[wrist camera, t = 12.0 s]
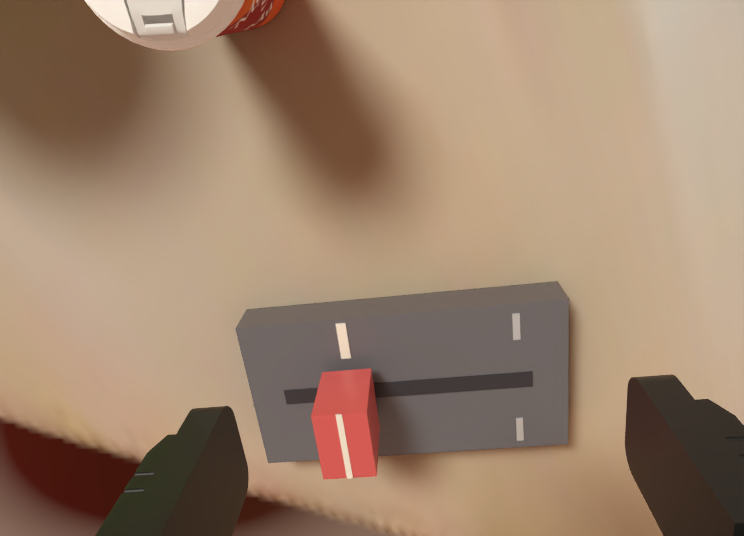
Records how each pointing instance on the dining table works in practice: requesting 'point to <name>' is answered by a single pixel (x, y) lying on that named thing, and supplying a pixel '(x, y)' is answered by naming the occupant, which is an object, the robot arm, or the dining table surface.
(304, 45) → the dining table surface
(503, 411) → the console
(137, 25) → the paper cup
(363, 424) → the fader
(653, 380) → the robot arm
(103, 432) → the dining table surface
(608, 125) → the dining table surface
